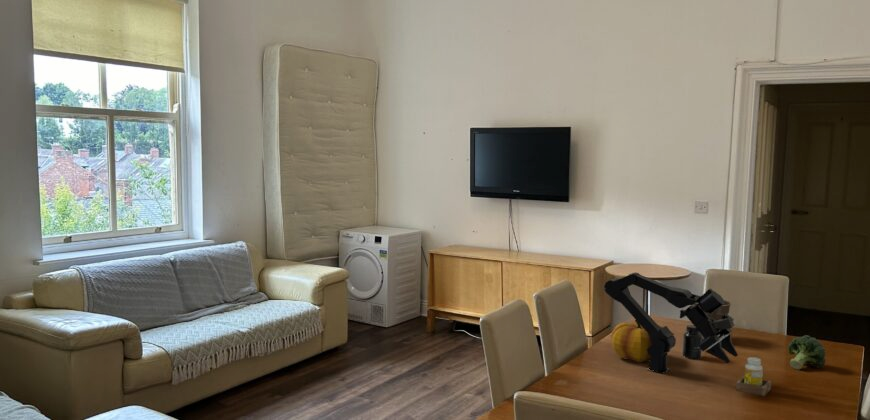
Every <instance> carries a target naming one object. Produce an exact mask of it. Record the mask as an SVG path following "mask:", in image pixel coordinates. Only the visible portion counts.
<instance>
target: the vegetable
mask: <svg viewBox="0 0 870 420" xmlns="http://www.w3.org/2000/svg"><path fill="white" fill-rule="evenodd" d="M787 350H788V354H789V355H795V357H794V358H791V359H790V361H789V365H790V367H791V368H792V369H794V370H800V369H802V368H803V366H804V365H805V366H806V365H810V364H812V366H813V367H814V368H816V369H817V368H821V367H823V366H824V365H825V364H826V358H825V357H826V349H825V348H824V346H823V343H822V342H820V341H819V340H818V339H816V337H813V336H812V337H811V336H810V335H806V334H805V335H803V336H802V335H801V336H797V337H794V338H793V339H792V340H791V342H790V343H789V344H788V347H787Z"/></svg>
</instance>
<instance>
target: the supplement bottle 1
mask: <svg viewBox="0 0 870 420" xmlns="http://www.w3.org/2000/svg"><path fill="white" fill-rule="evenodd" d="M695 329H696V327H695V326H694V325H693V324H688V325H686V329H685V332H684V333H683V335H682V336H683V337H682V356H683V357H684V356H685V357H684V358H686V357H688V358H687V359H690V358H693V359H692V360H698V358H699V359H701V358H702V350H701V349H700V348H699V343H701V342H702V335H701V334H700V333H699V331H698V332H696V330H695Z"/></svg>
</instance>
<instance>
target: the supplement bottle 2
mask: <svg viewBox="0 0 870 420" xmlns="http://www.w3.org/2000/svg"><path fill="white" fill-rule="evenodd" d="M761 364H762V359H760V358H759V357H754V356H752V357H751V356H750V357H747V363H746V364H745V365H744V376H745V378H744V383H747V384H751V385H756V386H761V387H762V379H763V374H764V373H763V372H764V369H763V366H762V365H761Z"/></svg>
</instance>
